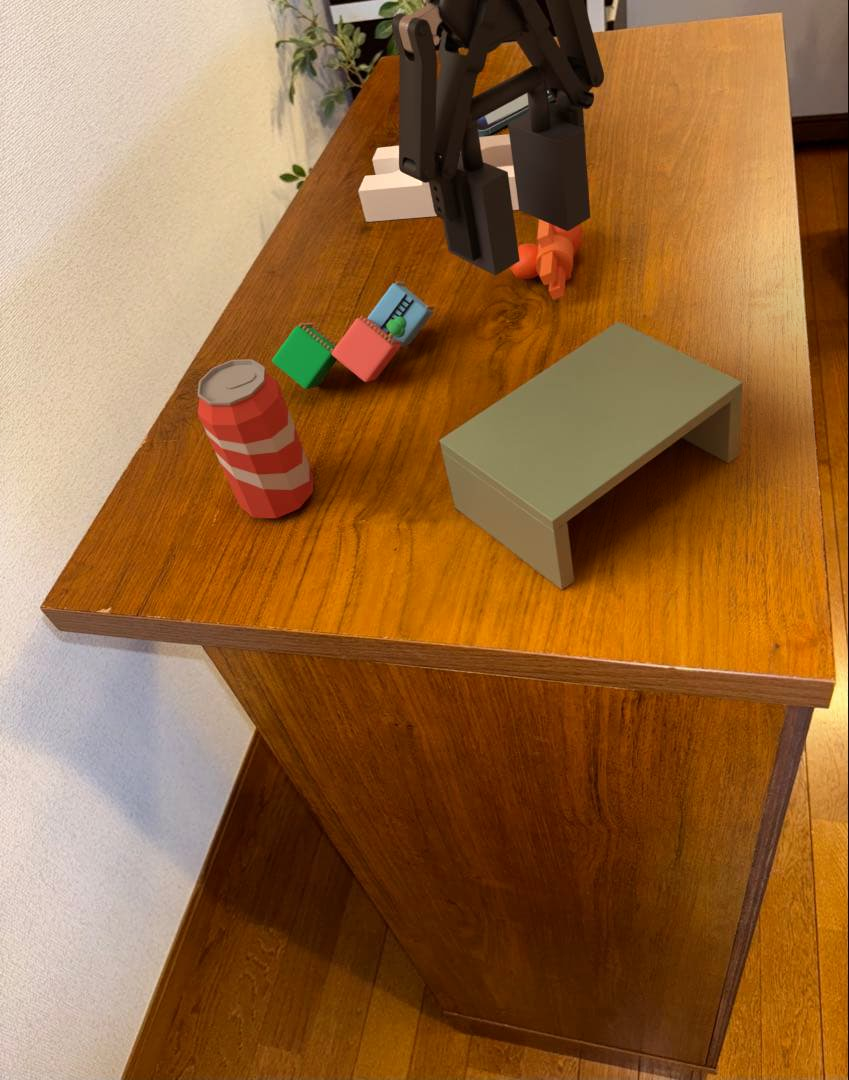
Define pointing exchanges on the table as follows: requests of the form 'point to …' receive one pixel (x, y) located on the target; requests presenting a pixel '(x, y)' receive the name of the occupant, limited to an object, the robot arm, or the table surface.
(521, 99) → the smartphone
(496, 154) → the white thick notched block
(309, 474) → the beverage can
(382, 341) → the building blocks
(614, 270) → the table surface
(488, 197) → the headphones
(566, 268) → the orange toy bird
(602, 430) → the shelf
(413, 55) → the robot arm
